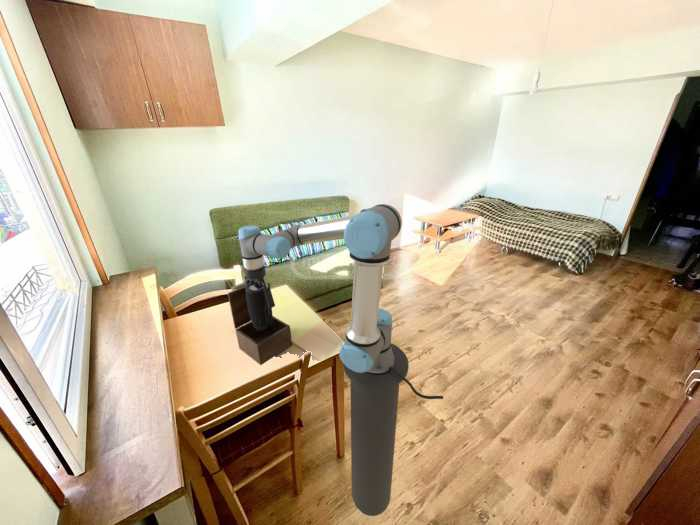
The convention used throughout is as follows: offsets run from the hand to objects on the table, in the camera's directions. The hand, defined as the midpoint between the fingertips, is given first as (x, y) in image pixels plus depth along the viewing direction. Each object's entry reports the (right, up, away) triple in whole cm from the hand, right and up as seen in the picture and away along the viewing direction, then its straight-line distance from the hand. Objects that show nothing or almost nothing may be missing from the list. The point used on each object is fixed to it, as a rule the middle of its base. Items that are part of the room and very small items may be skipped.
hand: (262, 316), depth 114 cm
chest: (-1, -15, +7) cm, 16 cm away
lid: (-7, +5, +4) cm, 9 cm away
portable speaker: (0, -4, +2) cm, 4 cm away
